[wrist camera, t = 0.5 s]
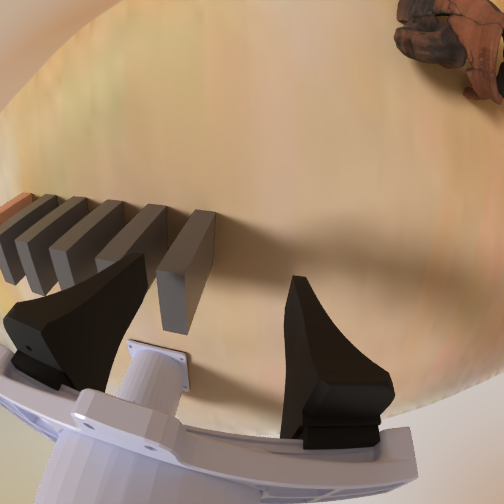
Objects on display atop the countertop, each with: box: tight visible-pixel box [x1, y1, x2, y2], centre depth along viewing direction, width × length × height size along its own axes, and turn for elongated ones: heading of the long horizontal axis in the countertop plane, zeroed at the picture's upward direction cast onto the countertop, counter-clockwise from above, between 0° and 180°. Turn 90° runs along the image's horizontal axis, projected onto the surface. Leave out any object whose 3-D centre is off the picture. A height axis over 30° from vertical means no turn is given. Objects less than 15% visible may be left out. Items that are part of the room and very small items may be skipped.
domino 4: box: [49, 200, 125, 291], centre depth 20 cm, size 5×2×8 cm, turn 173°
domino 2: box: [0, 194, 58, 285], centre depth 20 cm, size 5×2×8 cm, turn 173°
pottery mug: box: [394, 0, 504, 104], centre depth 11 cm, size 12×10×8 cm
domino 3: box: [15, 196, 88, 296], centre depth 20 cm, size 5×2×8 cm, turn 173°
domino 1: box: [0, 193, 33, 225], centre depth 20 cm, size 5×2×8 cm, turn 173°
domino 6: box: [156, 209, 216, 335], centre depth 20 cm, size 5×2×8 cm, turn 173°
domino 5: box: [95, 204, 168, 295], centre depth 20 cm, size 5×2×8 cm, turn 173°
